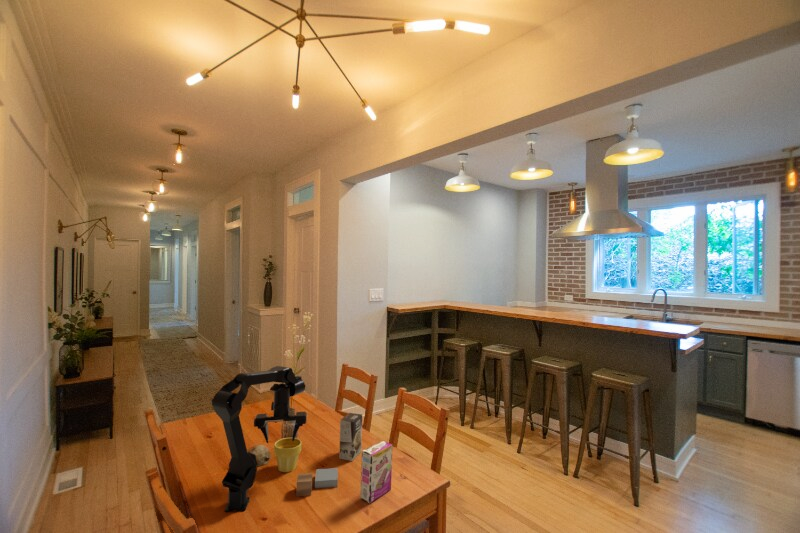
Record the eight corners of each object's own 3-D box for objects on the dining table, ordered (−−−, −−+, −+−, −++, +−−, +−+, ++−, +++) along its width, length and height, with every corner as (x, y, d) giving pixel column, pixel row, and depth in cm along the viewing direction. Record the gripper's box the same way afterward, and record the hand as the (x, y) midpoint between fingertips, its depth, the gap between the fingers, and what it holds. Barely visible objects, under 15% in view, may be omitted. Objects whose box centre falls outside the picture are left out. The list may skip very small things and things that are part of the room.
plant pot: (299, 459, 153) (300, 435, 153) (302, 472, 143) (303, 446, 143) (273, 463, 149) (273, 439, 149) (274, 477, 139) (274, 450, 139)
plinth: (337, 486, 134) (337, 479, 134) (314, 488, 132) (314, 481, 132) (337, 474, 142) (337, 467, 142) (316, 476, 140) (316, 469, 140)
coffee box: (352, 461, 152) (353, 422, 152) (338, 458, 154) (339, 419, 154) (362, 451, 160) (362, 414, 160) (348, 449, 162) (349, 412, 162)
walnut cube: (311, 495, 128) (311, 481, 128) (296, 496, 128) (296, 482, 128) (312, 487, 133) (312, 473, 133) (297, 488, 132) (298, 474, 133)
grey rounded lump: (256, 477, 145) (264, 460, 144) (235, 463, 147) (243, 446, 146) (270, 464, 155) (278, 448, 154) (250, 451, 157) (258, 435, 156)
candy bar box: (370, 504, 124) (371, 455, 124) (359, 498, 127) (360, 450, 127) (392, 490, 132) (393, 443, 133) (381, 484, 135) (382, 439, 136)
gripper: (307, 392, 150) (306, 431, 150) (259, 394, 146) (257, 434, 146) (306, 401, 139) (305, 443, 139) (254, 404, 135) (252, 447, 135)
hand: (280, 441), depth 140 cm, fingers open, 9 cm apart
